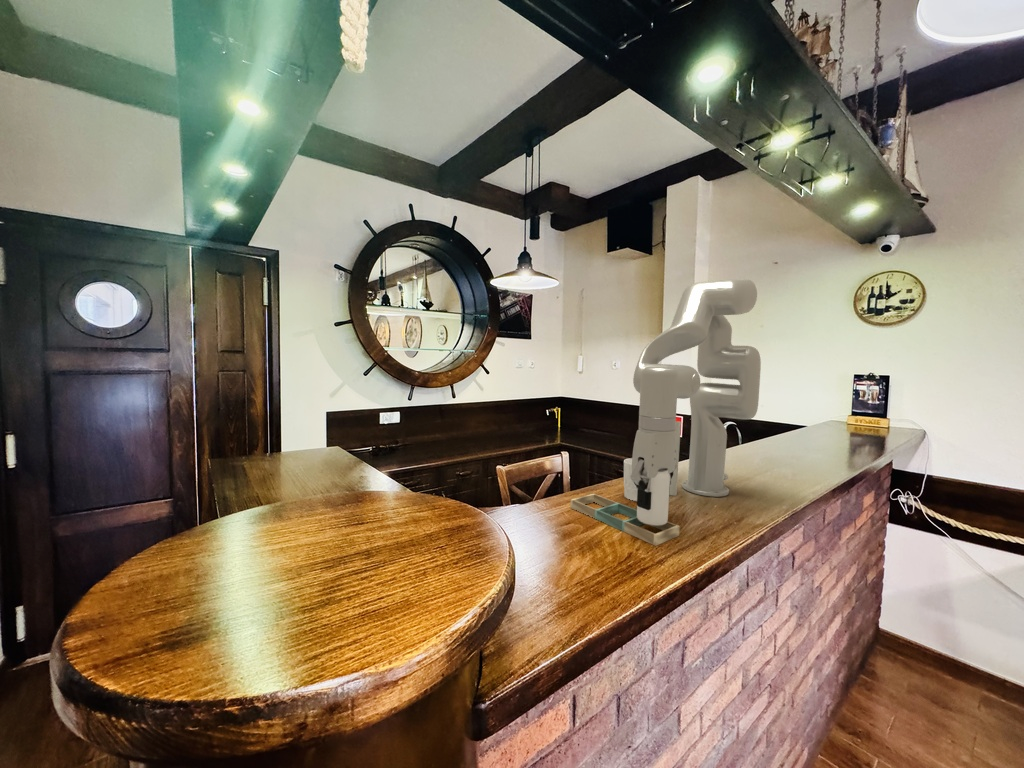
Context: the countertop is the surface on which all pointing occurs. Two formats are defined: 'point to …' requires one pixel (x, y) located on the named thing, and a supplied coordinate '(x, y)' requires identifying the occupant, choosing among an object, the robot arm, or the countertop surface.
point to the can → (656, 500)
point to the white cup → (629, 481)
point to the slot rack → (626, 526)
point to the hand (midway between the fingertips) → (653, 503)
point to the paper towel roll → (675, 475)
